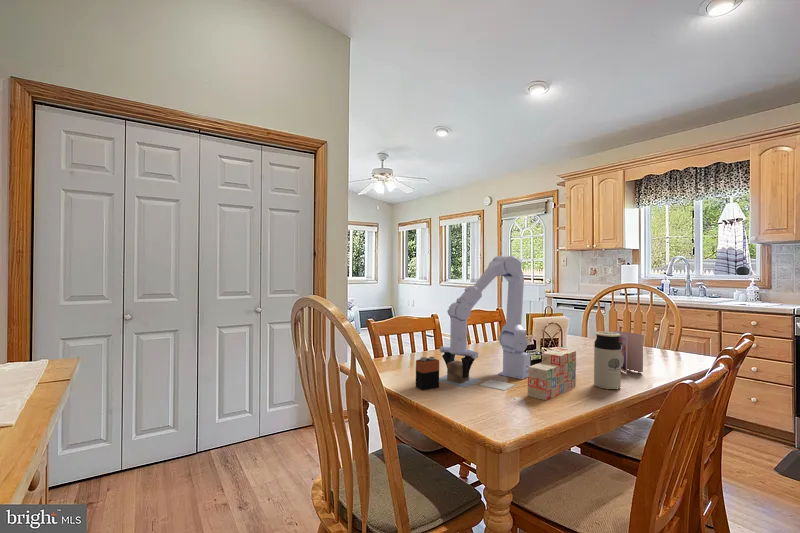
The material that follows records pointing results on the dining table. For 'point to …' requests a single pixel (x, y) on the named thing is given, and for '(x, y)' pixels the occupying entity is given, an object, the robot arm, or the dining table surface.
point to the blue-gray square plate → (464, 384)
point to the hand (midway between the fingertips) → (458, 375)
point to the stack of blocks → (552, 374)
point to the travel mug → (607, 360)
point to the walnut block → (455, 372)
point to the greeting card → (631, 351)
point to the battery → (427, 373)
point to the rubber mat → (497, 385)
